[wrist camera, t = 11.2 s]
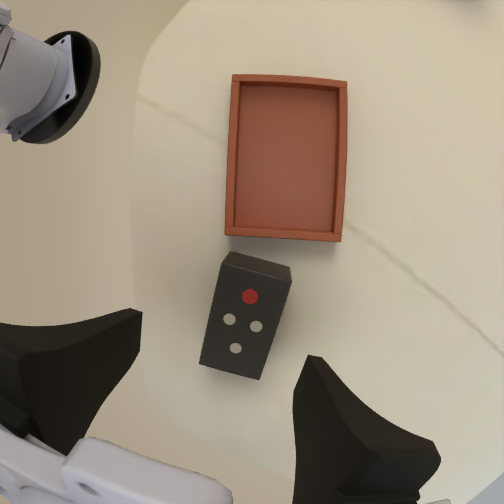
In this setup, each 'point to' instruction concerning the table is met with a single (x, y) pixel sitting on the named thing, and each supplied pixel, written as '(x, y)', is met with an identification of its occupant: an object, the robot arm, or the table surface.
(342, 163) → the dish
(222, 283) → the remote
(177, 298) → the table surface
